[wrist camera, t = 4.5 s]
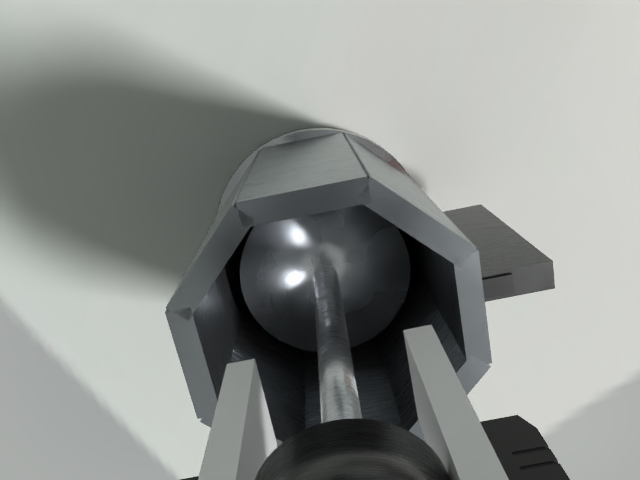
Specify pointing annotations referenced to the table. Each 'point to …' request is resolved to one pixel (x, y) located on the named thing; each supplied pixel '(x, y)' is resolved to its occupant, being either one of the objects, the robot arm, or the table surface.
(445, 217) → the press carafe
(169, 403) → the table surface
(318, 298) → the plunger
